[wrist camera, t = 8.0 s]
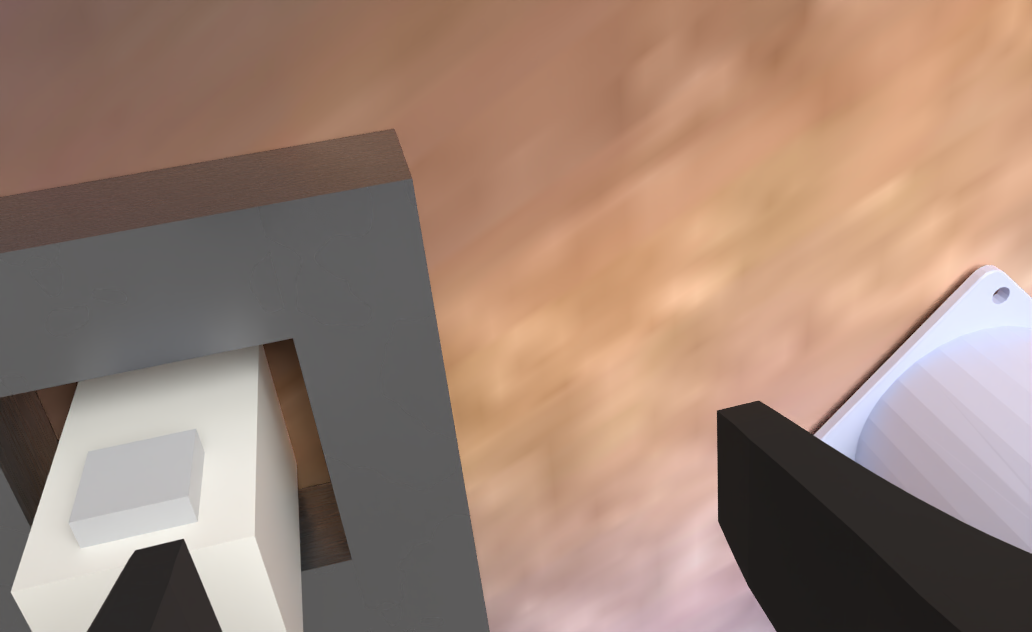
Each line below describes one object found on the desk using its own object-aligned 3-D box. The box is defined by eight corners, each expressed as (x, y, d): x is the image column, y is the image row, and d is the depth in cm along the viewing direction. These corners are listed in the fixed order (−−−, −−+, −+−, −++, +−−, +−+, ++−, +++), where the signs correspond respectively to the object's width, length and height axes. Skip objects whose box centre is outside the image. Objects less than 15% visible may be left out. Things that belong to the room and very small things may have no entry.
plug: (296, 463, 24) (305, 687, 18) (137, 499, 23) (91, 741, 18) (253, 310, 22) (245, 509, 16) (73, 345, 21) (-4, 566, 15)
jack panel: (510, 786, 33) (530, 871, 30) (158, 884, 31) (147, 983, 28) (394, 128, 20) (412, 178, 18) (-203, 232, 19) (-278, 303, 16)
